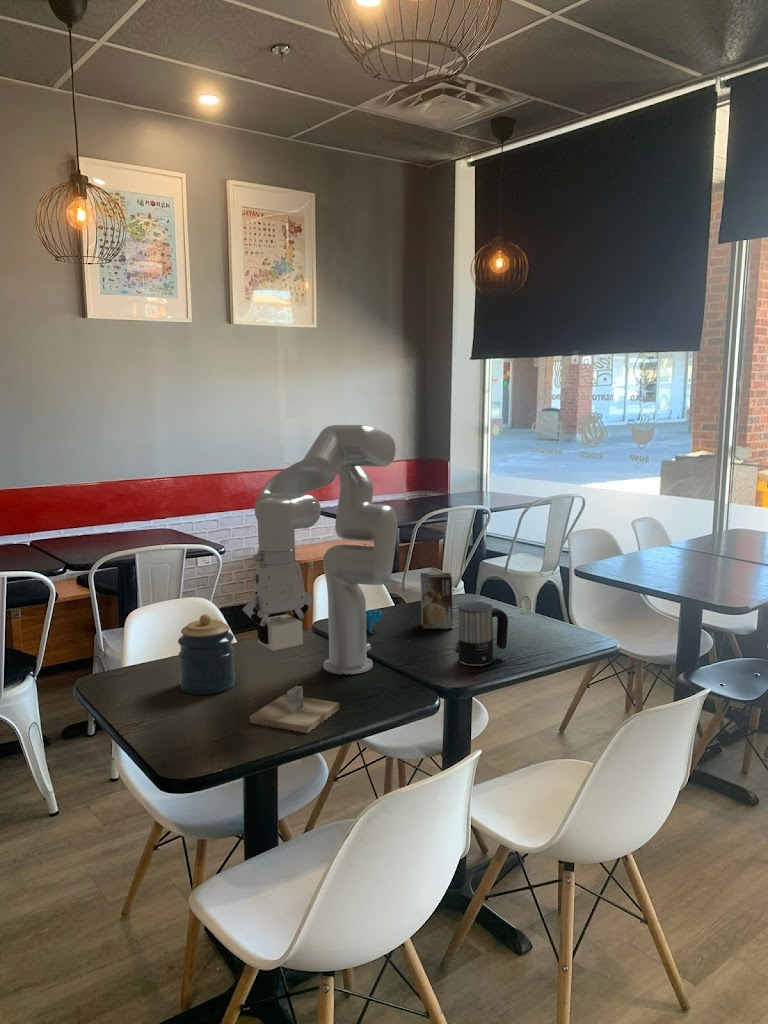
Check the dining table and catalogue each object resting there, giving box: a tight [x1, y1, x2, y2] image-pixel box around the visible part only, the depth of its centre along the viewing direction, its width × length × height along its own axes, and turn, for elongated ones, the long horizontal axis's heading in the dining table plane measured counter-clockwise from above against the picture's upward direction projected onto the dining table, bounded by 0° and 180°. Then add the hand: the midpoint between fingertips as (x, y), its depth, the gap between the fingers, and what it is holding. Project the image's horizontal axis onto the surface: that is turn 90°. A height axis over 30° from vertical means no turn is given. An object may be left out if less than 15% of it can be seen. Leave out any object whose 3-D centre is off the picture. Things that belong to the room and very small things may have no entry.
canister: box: [177, 613, 236, 696], centre depth 189 cm, size 13×13×18 cm
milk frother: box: [455, 601, 509, 664], centre depth 209 cm, size 14×16×15 cm
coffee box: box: [420, 572, 454, 628], centre depth 237 cm, size 9×6×16 cm
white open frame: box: [257, 613, 304, 652], centre depth 168 cm, size 7×7×5 cm
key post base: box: [249, 685, 340, 734], centre depth 171 cm, size 14×14×6 cm
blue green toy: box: [366, 608, 382, 632], centre depth 232 cm, size 11×6×10 cm
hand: (280, 638), depth 169 cm, fingers closed on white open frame, 7 cm apart
